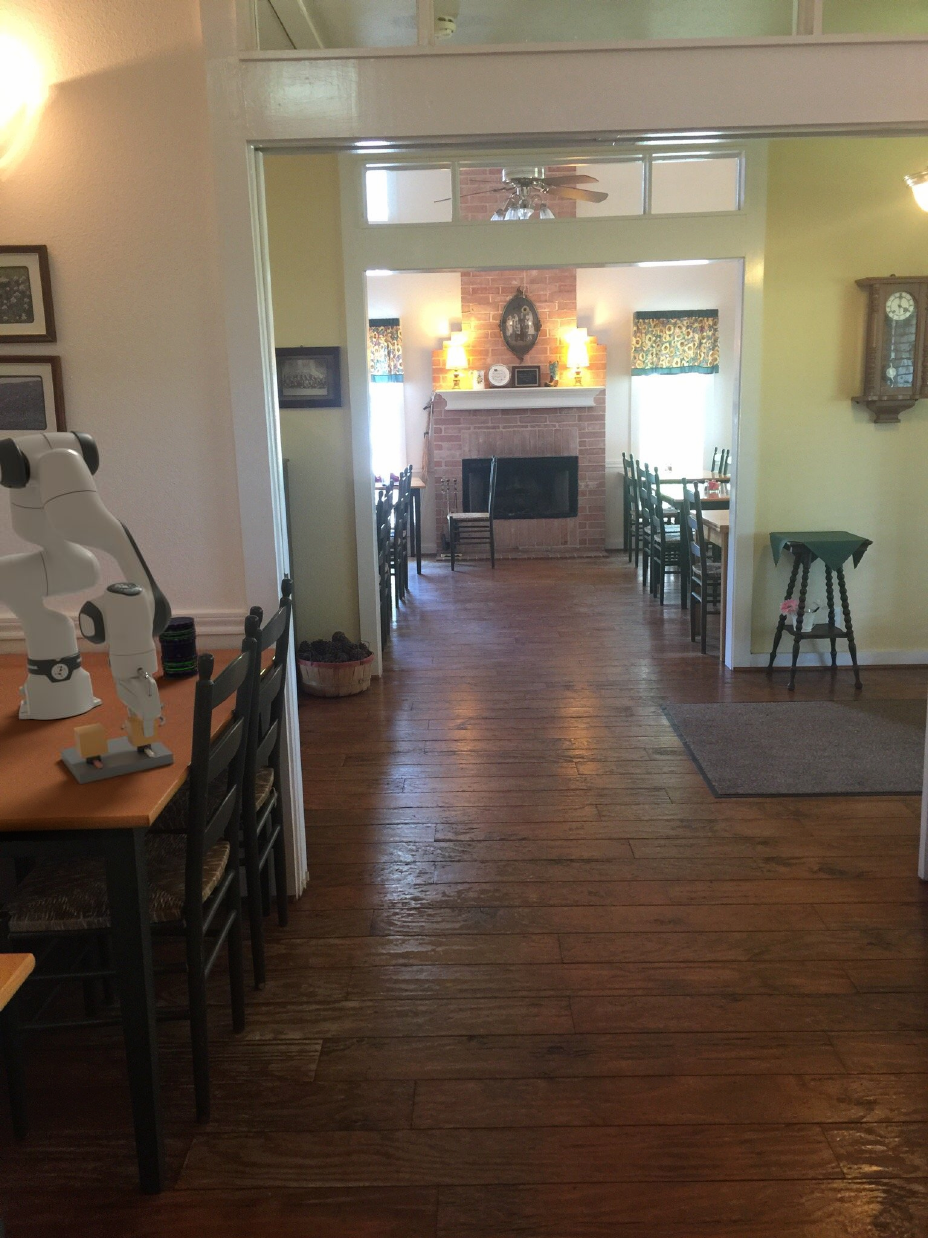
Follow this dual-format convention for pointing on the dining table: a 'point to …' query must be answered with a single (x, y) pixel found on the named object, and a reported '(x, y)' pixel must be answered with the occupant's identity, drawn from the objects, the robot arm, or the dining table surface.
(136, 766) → the board
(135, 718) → the tan wooden toy brick
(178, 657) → the storage jar
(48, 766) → the dining table surface
